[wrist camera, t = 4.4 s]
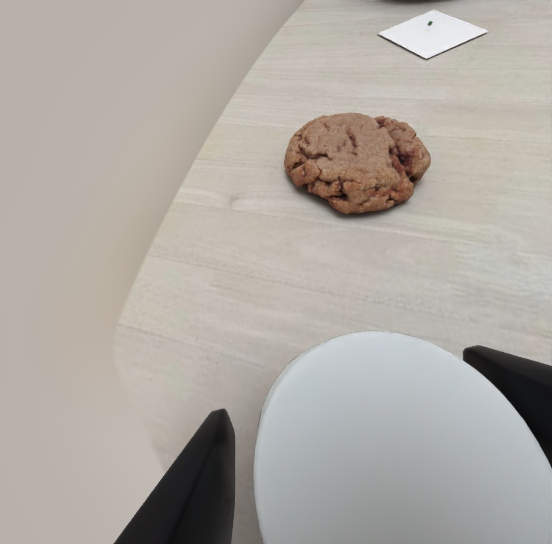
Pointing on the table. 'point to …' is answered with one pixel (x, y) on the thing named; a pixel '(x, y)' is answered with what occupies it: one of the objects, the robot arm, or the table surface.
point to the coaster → (432, 33)
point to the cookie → (357, 161)
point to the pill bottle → (395, 451)
